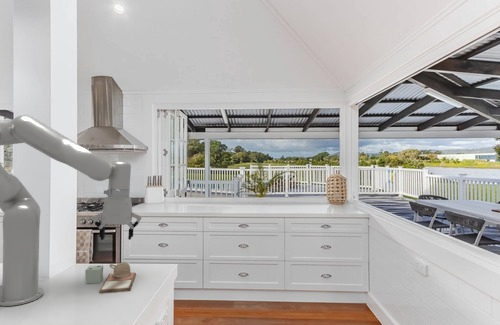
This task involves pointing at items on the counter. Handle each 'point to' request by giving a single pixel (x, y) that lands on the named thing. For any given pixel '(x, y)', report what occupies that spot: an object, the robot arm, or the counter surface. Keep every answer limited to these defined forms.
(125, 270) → the decorative ornament
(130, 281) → the brown framed panel
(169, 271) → the counter surface
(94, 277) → the die
